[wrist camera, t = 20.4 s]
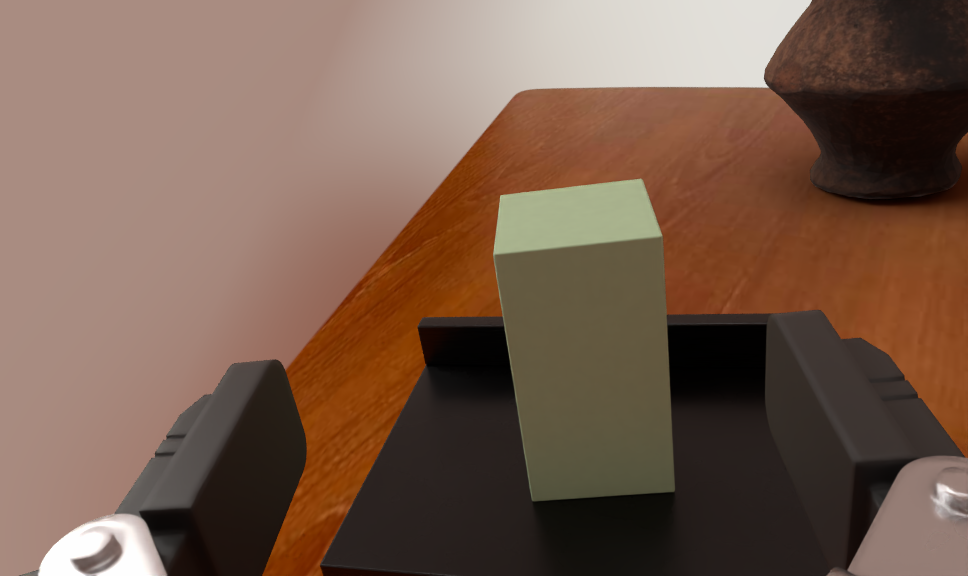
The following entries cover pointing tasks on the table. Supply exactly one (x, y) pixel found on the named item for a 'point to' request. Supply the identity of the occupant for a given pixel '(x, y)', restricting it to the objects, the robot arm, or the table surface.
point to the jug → (879, 92)
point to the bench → (583, 521)
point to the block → (587, 339)
